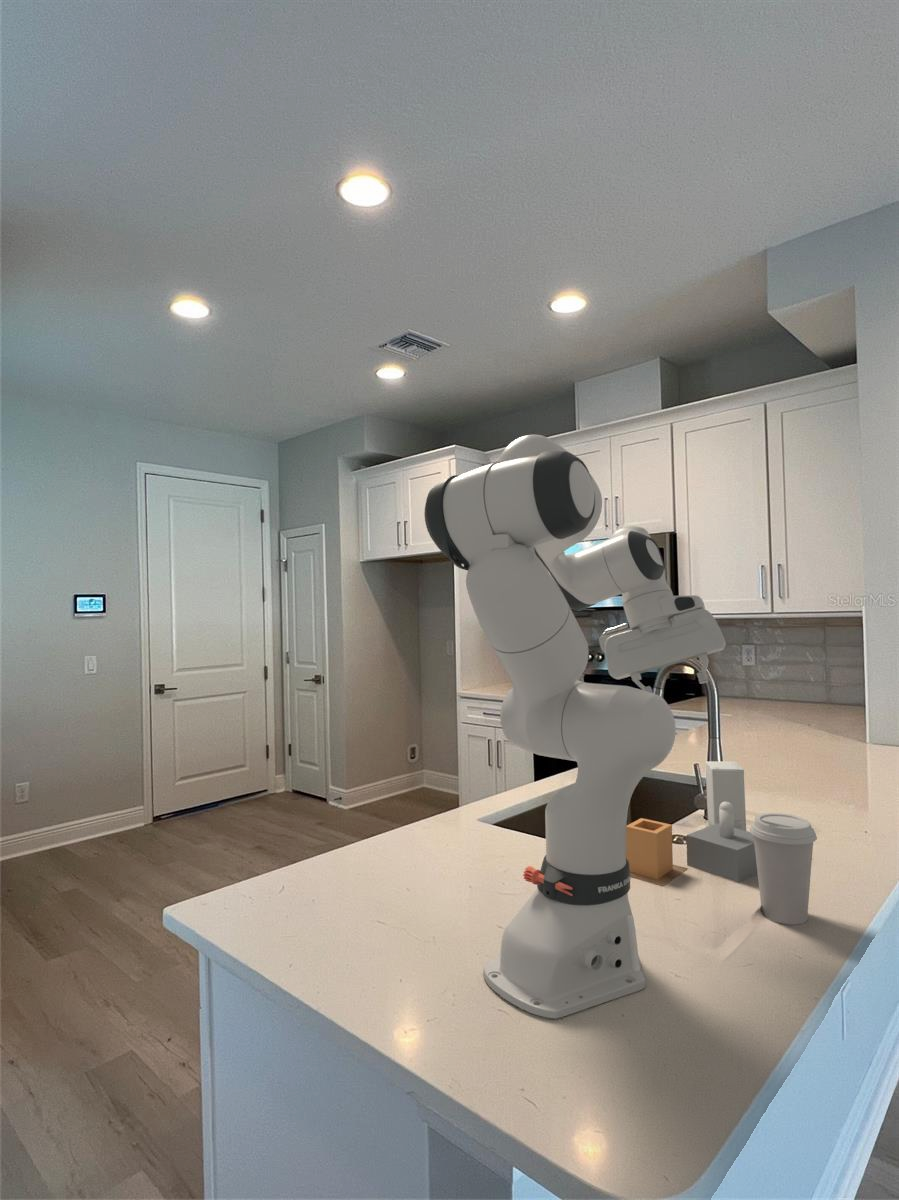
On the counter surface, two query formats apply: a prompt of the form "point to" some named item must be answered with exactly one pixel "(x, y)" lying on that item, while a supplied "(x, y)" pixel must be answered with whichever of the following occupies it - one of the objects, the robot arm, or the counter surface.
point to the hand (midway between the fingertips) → (676, 690)
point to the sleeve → (649, 848)
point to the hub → (723, 848)
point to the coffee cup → (783, 865)
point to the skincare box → (725, 791)
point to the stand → (665, 878)
